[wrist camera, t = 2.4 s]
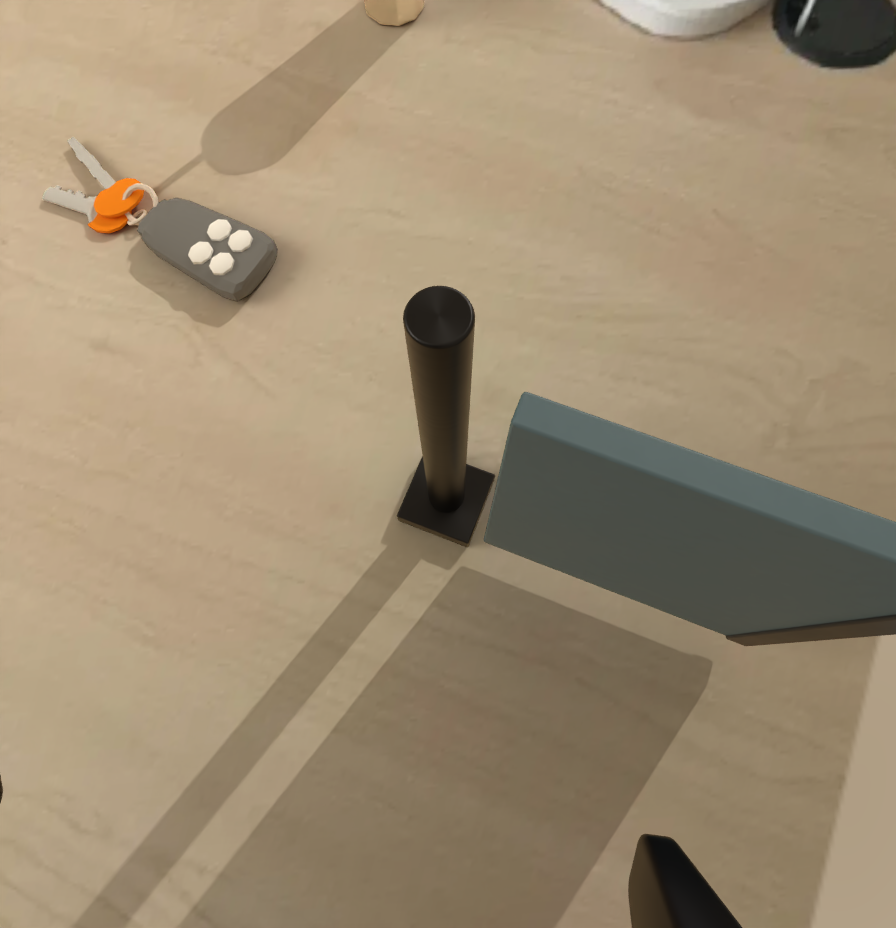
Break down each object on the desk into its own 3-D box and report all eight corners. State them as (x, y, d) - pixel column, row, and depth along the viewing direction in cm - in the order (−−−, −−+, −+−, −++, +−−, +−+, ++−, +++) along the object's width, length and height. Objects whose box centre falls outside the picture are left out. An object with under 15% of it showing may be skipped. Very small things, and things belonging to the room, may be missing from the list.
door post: (467, 547, 25) (484, 407, 12) (398, 520, 25) (336, 354, 12) (494, 480, 26) (537, 277, 12) (426, 454, 26) (397, 231, 13)
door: (746, 646, 22) (1049, 623, 11) (481, 544, 24) (508, 428, 12) (753, 620, 23) (1054, 570, 11) (490, 520, 24) (525, 384, 13)
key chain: (289, 250, 29) (280, 229, 28) (241, 311, 28) (230, 292, 27) (75, 141, 31) (57, 116, 30) (24, 194, 30) (3, 171, 29)
